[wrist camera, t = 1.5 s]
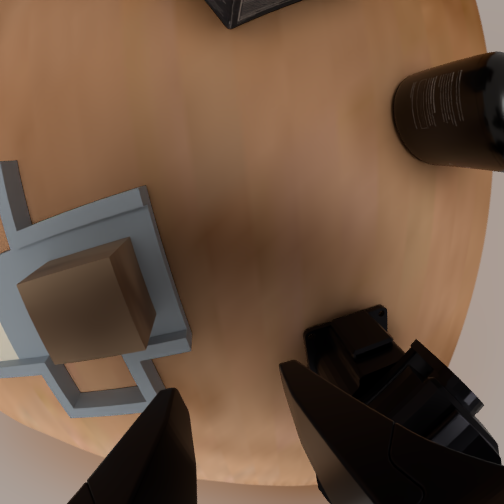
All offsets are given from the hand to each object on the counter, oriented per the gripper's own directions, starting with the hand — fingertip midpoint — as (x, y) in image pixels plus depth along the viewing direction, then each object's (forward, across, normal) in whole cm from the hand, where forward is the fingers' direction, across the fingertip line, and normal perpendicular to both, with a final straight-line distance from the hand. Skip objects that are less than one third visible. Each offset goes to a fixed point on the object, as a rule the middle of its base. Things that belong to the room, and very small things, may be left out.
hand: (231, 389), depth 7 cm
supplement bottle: (+12, -16, -6) cm, 21 cm away
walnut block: (+11, +8, 0) cm, 13 cm away
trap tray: (+12, +12, 0) cm, 17 cm away
